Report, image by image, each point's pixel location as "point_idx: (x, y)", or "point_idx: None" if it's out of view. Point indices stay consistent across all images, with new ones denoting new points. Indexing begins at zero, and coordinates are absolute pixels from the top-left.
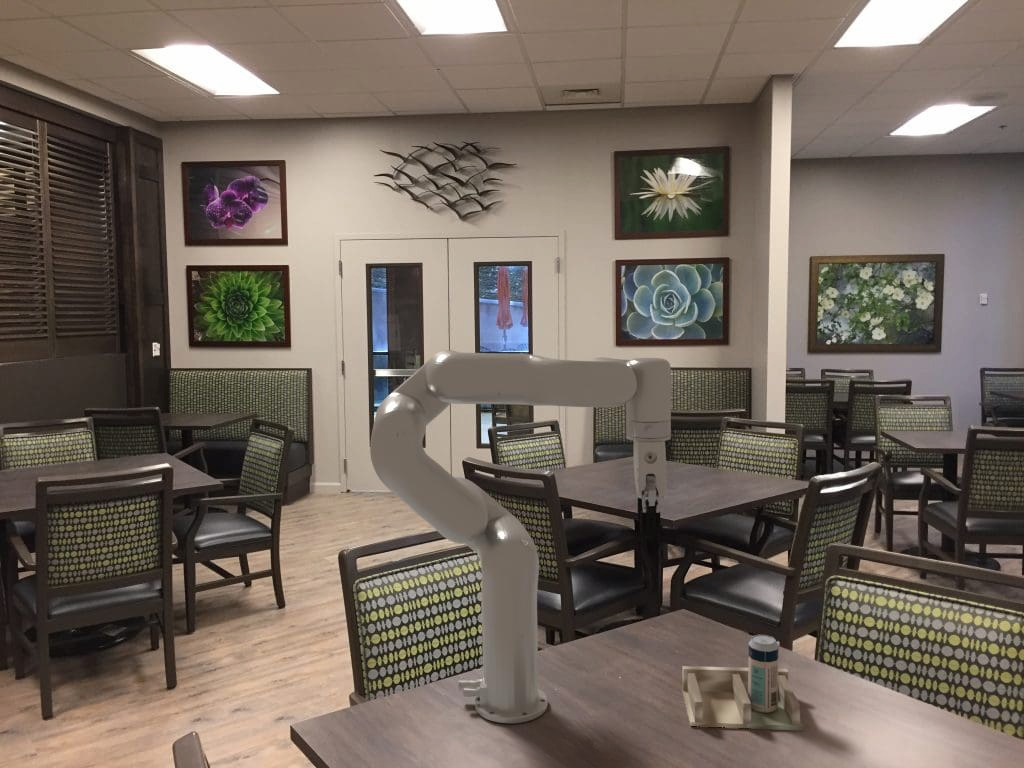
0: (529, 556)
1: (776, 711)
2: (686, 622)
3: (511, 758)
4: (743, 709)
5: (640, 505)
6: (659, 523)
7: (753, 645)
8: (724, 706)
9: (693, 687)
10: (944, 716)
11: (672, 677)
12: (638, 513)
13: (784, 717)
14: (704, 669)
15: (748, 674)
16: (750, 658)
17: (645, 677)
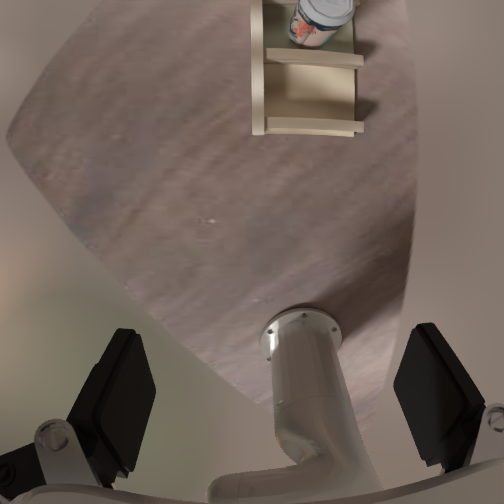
0: (379, 490)
1: None
2: (29, 128)
3: (397, 325)
4: (360, 66)
5: (136, 440)
6: (454, 360)
7: (343, 21)
8: (307, 82)
9: (318, 126)
10: None
11: (205, 144)
12: (148, 413)
13: None
14: (263, 100)
15: (315, 39)
16: (330, 31)
17: (209, 184)
